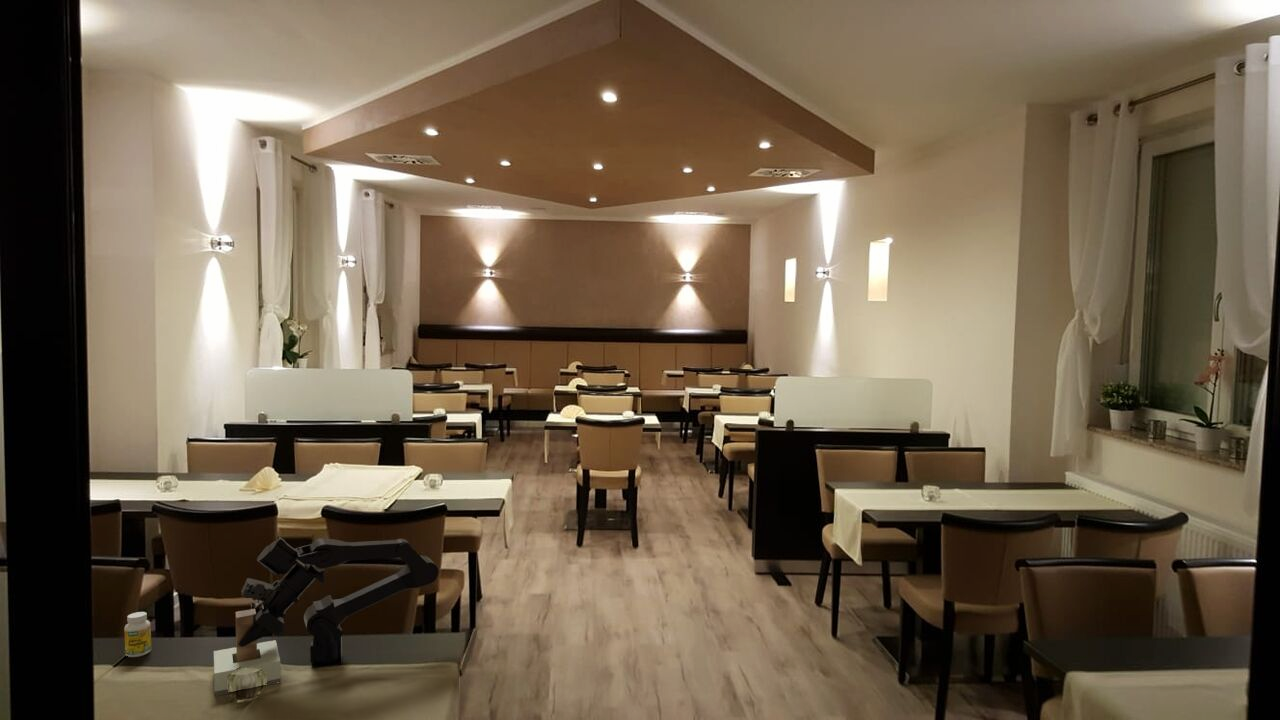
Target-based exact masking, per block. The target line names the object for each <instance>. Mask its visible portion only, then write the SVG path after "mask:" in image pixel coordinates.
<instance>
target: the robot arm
mask: <svg viewBox="0 0 1280 720" xmlns="http://www.w3.org/2000/svg"><path fill="white" fill-rule="evenodd" d="M394 558H395V559H396V558H400V559H401V560H402V561H403V562H404V563H405V565H403V567H402V568H401V569H399V571H397V572H396V573H394V574H391V575H390V576H388V577H385V578H383V579H380V580H379V581H376V582H375V583H372V584H370V585H368V586H366V587H363V588H362V589H358V590H357V591H355V592H353V593H351V594H348V595H346V596H344V597H342V598H339V599H332V595H331V594H329V595H327V596H324V597H323V598H321V599H320V600H316V601H312V604H311V605H310V606H308V607H307V608H306V610H305V612H304V613H303V614H304V615H303V620H304V624H305V627H306V630H307V632H308V633H309V634H310V635H312V636H313V637H312V641H311V642H310V648H309V649H310V651H309V652H310V653H309V655H310V657H309V659H310V663H311V664H312V666H311V668H312V669H318V668H325V667H332V666H339V665H342V664H343V657H344V656H343V654H344V653H343V649H342V648H343V647H342V646H343V644H342V643H343V639H342V636H343V635H344V634H343V633H344V631H343V629H342V628H341V625H340V624H342V623H343V621H345V620H346V619H347V618H348V617H349V616H352V615H353V614H356V613H358V612H360V611H362V610H364V609H366V608H369V607H370V606H373V605H375V604H377V603H380V602H382V601H384V600H385V599H387V598H390V597H391V596H392V597H393V595H394V596H395V595H396V594H398V593H400V592H403V591H405V590H411V589H412V590H413V589H419V588H422V587H426V586H429V585H432V584H434V583H435V582H436V581H437V579H438V577H439V567H438V566H437V564H435V562H434V561H433V560H432V559H431V558H430V557H429V556H426V555H420V554H419V553H418V552H417V551H416V550H415V549H414V547H412V545H411V543H409V541H408V540H407V539H406V538H405V539H404V538H398V539H388V540H371V541H370V540H369V541H354V542H353V541H344V540H339V539H332V538H323V537H322V538H317V539H315V540H314V541H313V542H311V543H310V544H308V545H303V546H299V547H296V548H294V547H292V546H291V545H290V544H289V543H287V542H286V540H285V539H284V538H283V537H281V536H279V537H278V538H277V539H276V540H274V541H273V542H271V543H270V544H269V545H267V546H266V547H264V549H263V550H262V551H261V552H260V554H259V555H258V556H257V558H256V562H258V563H259V564H261V565H262V566H263V567H265V568H266V569H267V570H269V571H270V572H271V573H273V574H274V575H276V576H279V575H284V576H283V577H282V578H281V579H280V580H279V579H277V580H274V582H272V584H271V583H268V582H265V581H262V580H259V579H255V578H250V577H248V578H246V580H245V582H244V585H243V587H242V588H241V596H242V597H243V598H245V599H252V601H256V602H255V603H254V602H250V607H251V608H250V609H255V611H256V615H255V614H253V624H252V625H251V626H250V628H249V629H248V631H247V632H246V633H245V635H244V636H243V638H242V639H241V641H240V642H239V646H241V647H243V646H245V645H247V644H249V643H251V642H253V641H255V640H257V641H258V640H259V639H261V638H263V637H267V636H269V635H270V634H273V635H275V636H276V637H280V635H281V634H282V633H283V632H284V631H285V629H286V628H285V626H286V625H285V622H284V621H285V620H284V617H285V616H286V611H287V610H288V609H289V608H290V607H291V606H292V605H293V604H297V603H298V602H299V601H300V598H299V597H300V596H301V595H302V594H303V593H304V592H305V591H306V589H308V587H309V586H311V584H312V583H313V582H314V581H315V580H316V581H318V582H320V583H322V584H324V583H325V573H326V571H325V569H328V568H332V567H337V566H340V565H343V564H345V563H347V562H351V561H363V560H365V561H366V560H377V559H378V560H379V559H380V560H381V559H394Z"/></svg>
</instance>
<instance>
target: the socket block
mask: <svg viewBox="0 0 1280 720" xmlns="http://www.w3.org/2000/svg"><path fill="white" fill-rule="evenodd" d="M278 649H279V648H278V644H277V640H276V639H275V640H269V641H263V642H262V641H261V642H257V659H254V660H248V661H243V662H238V663H237V652H236V647H230V648H224V649H219V650H213V673H214V674H213V677H214V685H213V686H214V697H219V696H222V695H228V694H229V693H228V690H227V676H228V674H230V673H232V672H233V671H235V670H236V669H237V668H239V667H243V668H245V667H246V668H250V667H257V668H261V669H263V670H264V671H265V672H266V676H267V683H266V684H267V686H271V684H272V685H275V684H274V683H276V684H278V683H277V682H280V681H281V682H282V680H281V678H282V677H281V676H282V675H281V658H280V654H279V653H280V652H279V650H278Z"/></svg>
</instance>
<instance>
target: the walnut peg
mask: <svg viewBox="0 0 1280 720" xmlns="http://www.w3.org/2000/svg"><path fill="white" fill-rule="evenodd" d="M253 614H255V615H256V611H255V609H251V608H250V609H245V610H239V611H235V641H236V642H235V643H236V644H235V646H236V652H237V663H238V662H243V661H248V660H254V659H257V643H258V642H257V641H258V639H257V640H255V641H253V642H251V643H249V644H247V645H245V646H243V647H241V646H239V642H240V641H241V639H242V638H243V636H244V635H245V633H246V632H247V631H248V629H249V628H250V626H251V625H252V624H253Z"/></svg>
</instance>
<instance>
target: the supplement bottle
mask: <svg viewBox="0 0 1280 720" xmlns="http://www.w3.org/2000/svg"><path fill="white" fill-rule="evenodd" d="M147 615H148V614H147V612H146V611H137V612H132V613H130V614H128V615H127V616H126V620H127V624H125V626H124V629H123V630H124V653H125V656H126V657H127V656H128V657H127V658H137V657H142V656H145V655H147V654H149V653H150V652H151V651H152V632H151V631H152V630H151V629H152V627H151V622H150V620H148V616H147Z"/></svg>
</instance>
